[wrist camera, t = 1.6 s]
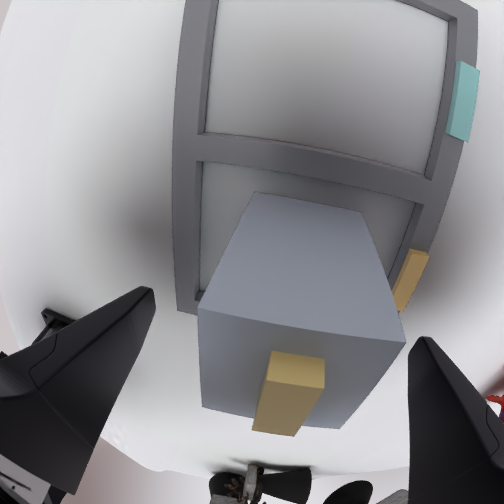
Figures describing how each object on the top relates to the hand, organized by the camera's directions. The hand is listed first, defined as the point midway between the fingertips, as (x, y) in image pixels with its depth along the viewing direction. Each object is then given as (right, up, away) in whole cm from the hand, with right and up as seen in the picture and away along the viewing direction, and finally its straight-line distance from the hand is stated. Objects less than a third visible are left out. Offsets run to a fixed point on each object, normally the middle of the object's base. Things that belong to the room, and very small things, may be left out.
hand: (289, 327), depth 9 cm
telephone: (+8, -31, +23) cm, 39 cm away
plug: (+1, +2, +4) cm, 5 cm away
